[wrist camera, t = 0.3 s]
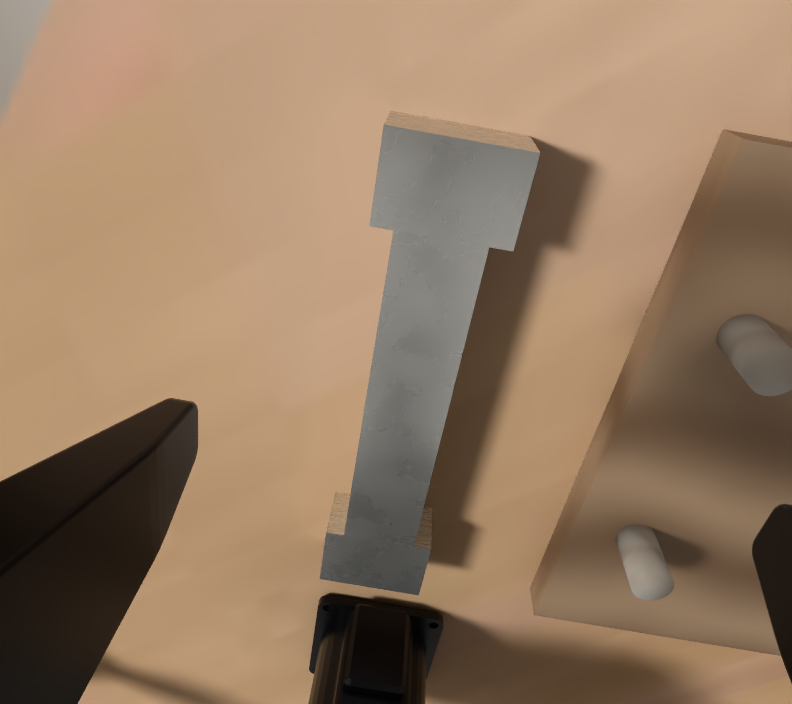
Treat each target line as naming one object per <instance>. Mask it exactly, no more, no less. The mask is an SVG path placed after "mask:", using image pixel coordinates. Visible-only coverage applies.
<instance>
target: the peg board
mask: <svg viewBox="0 0 792 704" xmlns="http://www.w3.org/2000/svg"><path fill="white" fill-rule="evenodd" d="M780 504H790V505H792V142H789V141H783V140H778V139H772V138H767V137H761V136H756V135H750V134H745V133H739V132H734V131H728V130H723V131H722V134H721V136H720V138H719V141H718V143H717V145H716V148H715V150H714V153H713V155H712V157H711V160H710V162H709V164H708V167H707V169H706V172H705V174H704V176H703V179H702V181H701V184H700V186H699V188H698V191H697V193H696V195H695V198H694V200H693V203H692V205H691V207H690V210H689V212H688V214H687V217H686V219H685V222H684V224H683V226H682V229H681V231H680V233H679V236H678V238H677V241H676V243H675V245H674V248H673V250H672V252H671V255H670V257H669V260H668V262H667V264H666V267H665V269H664V271H663V274H662V276H661V279H660V281H659V283H658V286H657V288H656V291H655V293H654V295H653V298H652V300H651V302H650V305H649V307H648V310H647V312H646V314H645V317H644V319H643V321H642V324H641V326H640V329H639V331H638V333H637V336H636V338H635V340H634V343H633V345H632V348H631V350H630V352H629V355H628V357H627V359H626V362H625V364H624V367H623V369H622V371H621V374H620V376H619V378H618V381H617V383H616V386H615V388H614V390H613V393H612V395H611V398H610V400H609V402H608V405H607V407H606V409H605V412H604V414H603V417H602V419H601V421H600V424H599V426H598V428H597V431H596V433H595V436H594V438H593V440H592V443H591V445H590V447H589V450H588V452H587V455H586V457H585V459H584V462H583V464H582V466H581V469H580V471H579V474H578V476H577V478H576V481H575V483H574V485H573V488H572V490H571V493H570V495H569V497H568V500H567V502H566V505H565V507H564V509H563V512H562V514H561V516H560V519H559V521H558V524H557V526H556V528H555V531H554V533H553V535H552V538H551V540H550V543H549V545H548V547H547V550H546V552H545V554H544V557H543V559H542V562H541V564H540V566H539V569H538V571H537V573H536V576H535V578H534V581H533V583H532V585H531V588H530V590H531V597H532V604H533V611H534V615H537V616H543V617H549V618H555V619H561V620H567V621H573V622H579V623H585V624H591V625H597V626H603V627H609V628H615V629H621V630H627V631H634V632H640V633H646V634H652V635H658V636H664V637H670V638H676V639H682V640H688V641H694V642H700V643H706V644H712V645H718V646H724V647H731V648H737V649H743V650H749V651H755V652H761V653H767V654H773V655H779V656H780V655H781V654H780V651H779V648H778V645H777V641H776V638H775V635H774V632H773V628H772V624H771V621H770V617H769V614H768V610H767V607H766V603H765V600H764V596H763V593H762V589H761V585H760V582H759V578H758V575H757V571H756V568H755V564H754V561H753V557H752V544H753V541H754V539H755V537H756V536H757V534H758V532H759V531H760V529H761V528H762V526H763V525H764V523H765V521H766V520H767V518H768V517H769V515H770V514H771V512H772V510H773V509H774V508H775V507H777V506H778V505H780Z"/></svg>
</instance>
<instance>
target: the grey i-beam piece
mask: <svg viewBox="0 0 792 704" xmlns="http://www.w3.org/2000/svg"><path fill="white" fill-rule="evenodd" d="M539 156H540V151H539V150H538V148H537V147H536V145H535V143H534V142H533V140H532V138H531V137H530V136H527V135H521V134H516V133H510V132H505V131H499V130H493V129H488V128H482V127H477V126H471V125H466V124H460V123H455V122H449V121H444V120H438V119H433V118H427V117H422V116H416V115H411V114H405V113H400V112H394V111H390V113H389V115H388V117H387V119H386V121H385V123H384V127H383V134H382V141H381V148H380V155H379V162H378V169H377V177H376V184H375V191H374V198H373V205H372V212H371V219H370V226H372V227H378V228H383V229H389V230H394V231H393V237H392V243H391V249H390V255H389V261H388V268H387V274H386V280H385V286H384V292H383V298H382V304H381V311H380V317H379V323H378V329H377V335H376V341H375V347H374V353H373V360H372V366H371V372H370V378H369V384H368V390H367V396H366V403H365V409H364V415H363V421H362V427H361V433H360V439H359V445H358V452H357V458H356V464H355V470H354V476H353V482H352V488H351V494H345V493H339V492H335V496H334V501H333V505H332V509H331V514H330V518H329V523H328V527H327V532H326V538H325V546H324V553H323V560H322V567H321V574H320V579H324V580H330V581H336V582H342V583H348V584H354V585H360V586H366V587H372V588H378V589H384V590H390V591H396V592H402V593H408V594H414V595H419V592H420V588H421V585H422V581H423V577H424V574H425V570H426V566H427V563H428V559H429V556H430V552H431V532H432V508H428V507H424V504H425V500H426V496H427V492H428V488H429V484H430V480H431V476H432V472H433V469H434V465H435V461H436V457H437V453H438V449H439V445H440V441H441V437H442V433H443V429H444V425H445V421H446V417H447V413H448V409H449V405H450V401H451V397H452V393H453V389H454V385H455V381H456V378H457V374H458V370H459V366H460V362H461V358H462V354H463V350H464V346H465V342H466V338H467V334H468V330H469V326H470V322H471V318H472V314H473V310H474V306H475V302H476V298H477V294H478V291H479V287H480V283H481V279H482V275H483V271H484V267H485V263H486V259H487V255H488V251H489V247H490V248H496V249H501V250H507V251H514V247H515V244H516V240H517V236H518V233H519V229H520V225H521V222H522V218H523V214H524V211H525V207H526V204H527V200H528V196H529V193H530V189H531V185H532V182H533V178H534V175H535V171H536V167H537V164H538V160H539Z"/></svg>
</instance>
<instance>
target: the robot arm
mask: <svg viewBox="0 0 792 704" xmlns="http://www.w3.org/2000/svg"><path fill="white" fill-rule="evenodd" d="M197 450H198V409H197V405H196V404H195V403H194V402H191V401H185V400H180V399H174V398H169V399H166V400H164V401H162V402H160V403H157V404H155V405H153V406H151V407H149V408H147V409H145V410H143V411H141V412H139V413H137V414H135V415H133V416H131V417H129V418H127V419H125V420H123V421H121V422H119V423H117V424H115V425H113V426H111V427H109V428H107V429H105V430H103V431H101V432H99V433H97V434H95V435H93V436H91V437H89V438H87V439H85V440H83V441H81V442H79V443H77V444H75V445H73V446H71V447H69V448H67V449H65V450H63V451H61V452H59V453H57V454H55V455H53V456H51V457H49V458H47V459H45V460H43V461H41V462H39V463H37V464H35V465H33V466H31V467H29V468H26V469H24V470H22V471H20V472H18V473H16V474H14V475H12V476H10V477H8V478H6V479H4V480H2V481H0V704H78V702H79V700H80V698H81V696H82V694H83V692H84V691H85V689H86V687H87V685H88V683H89V681H90V679H91V678H92V676H93V674H94V672H95V670H96V668H97V666H98V664H99V663H100V661H101V659H102V657H103V655H104V653H105V651H106V649H107V648H108V646H109V644H110V642H111V640H112V638H113V636H114V635H115V633H116V631H117V629H118V627H119V625H120V623H121V621H122V620H123V618H124V616H125V614H126V612H127V610H128V608H129V606H130V605H131V603H132V601H133V599H134V597H135V595H136V593H137V592H138V590H139V588H140V586H141V584H142V582H143V580H144V578H145V577H146V575H147V573H148V571H149V569H150V567H151V565H152V564H153V562H154V560H155V558H156V556H157V554H158V552H159V550H160V548H161V545H162V543H163V540H164V538H165V536H166V533H167V531H168V528H169V526H170V523H171V520H172V518H173V515H174V513H175V510H176V508H177V505H178V503H179V500H180V497H181V495H182V492H183V490H184V487H185V485H186V482H187V480H188V477H189V474H190V472H191V469H192V467H193V464H194V462H195V459H196V455H197ZM752 557H753V561H754V564H755V568H756V571H757V575H758V578H759V582H760V585H761V589H762V593H763V596H764V600H765V603H766V607H767V610H768V614H769V617H770V621H771V624H772V628H773V632H774V635H775V638H776V641H777V645H778V648H779V651H780V654H781V657H782V659H783V662H784V665H785V668H786V670H787V673H788V675H789V678H790V680H791V683H792V505H790V504H780V505H778V506H777V507H775V508H774V509H773V510H772V512H771V514H770V515H769V517H768V518H767V520H766V521H765V523H764V525H763V526H762V528H761V529H760V531H759V532H758V534H757V536H756V537H755V539H754V541H753V544H752ZM442 629H443V617H442V615H440V614H438V613H434V612H428V611H422V610H416V609H410V608H404V607H398V606H392V605H386V604H380V603H374V602H368V601H362V600H355V599H349V598H343V597H337V596H331V595H325V596H322V597H321V598H320V600H319V605H318V611H317V618H316V625H315V632H314V639H313V646H312V653H311V660H310V666H309V670H310V672H311V673H313V674H314V678H313V683H312V688H311V694H310V699H309V704H425V687H426V678H427V675H428V672H429V669H430V666H431V663H432V660H433V657H434V654H435V650H436V647H437V644H438V641H439V638H440V635H441V632H442Z"/></svg>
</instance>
